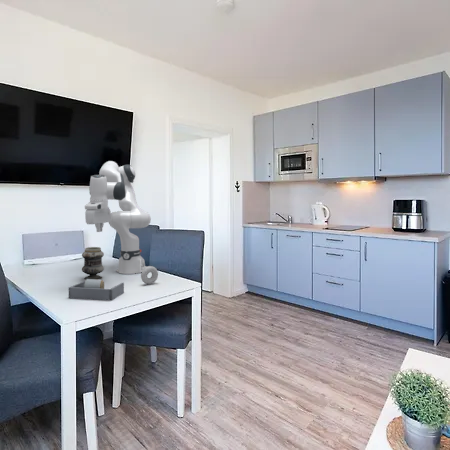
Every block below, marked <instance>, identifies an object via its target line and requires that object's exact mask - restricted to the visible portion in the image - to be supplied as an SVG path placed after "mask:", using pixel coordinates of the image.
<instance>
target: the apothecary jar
mask: <svg viewBox="0 0 450 450" xmlns="http://www.w3.org/2000/svg"><path fill="white" fill-rule="evenodd" d="M104 255H105V253H104V252H103V251H102V248H101V247H100V246H99V247H98V246H90V247H89V246H88V247H85V248H84V251H83V252H82V253H81V257H82V258H83V260H84V263H83V266H82V268H81V271H82V272H83V273H84V274H86V275H87V276H85V277H84V278H83V279H84V281H86V279H96V280H102V279H103V276H101V275H99V274H101V273H103V272H104V270H105V266H104V265H103V264H102V263H103V262H102V260H103V259H102V258H103V257H104Z"/></svg>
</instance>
